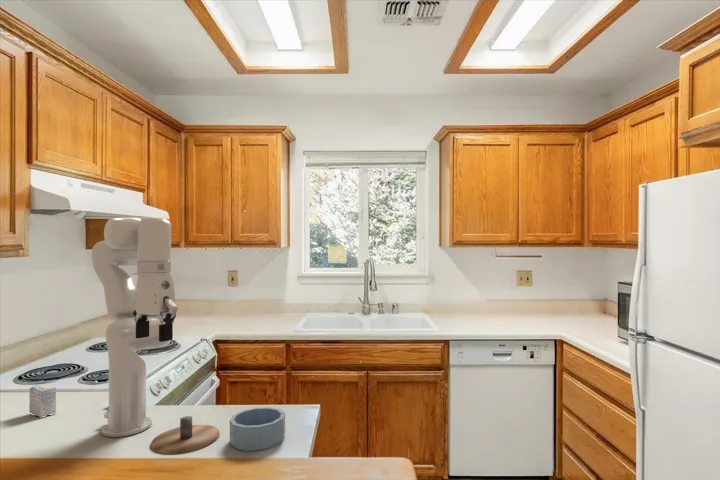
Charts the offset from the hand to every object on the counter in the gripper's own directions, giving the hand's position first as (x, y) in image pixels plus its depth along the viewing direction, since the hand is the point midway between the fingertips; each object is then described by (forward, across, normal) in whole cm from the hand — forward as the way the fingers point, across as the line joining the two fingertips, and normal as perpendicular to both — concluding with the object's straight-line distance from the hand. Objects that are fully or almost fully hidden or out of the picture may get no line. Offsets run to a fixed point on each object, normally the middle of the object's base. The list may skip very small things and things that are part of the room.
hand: (153, 339), depth 101 cm
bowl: (+29, -13, -22) cm, 38 cm away
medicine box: (+30, +62, 0) cm, 69 cm away
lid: (+30, +4, -12) cm, 32 cm away
